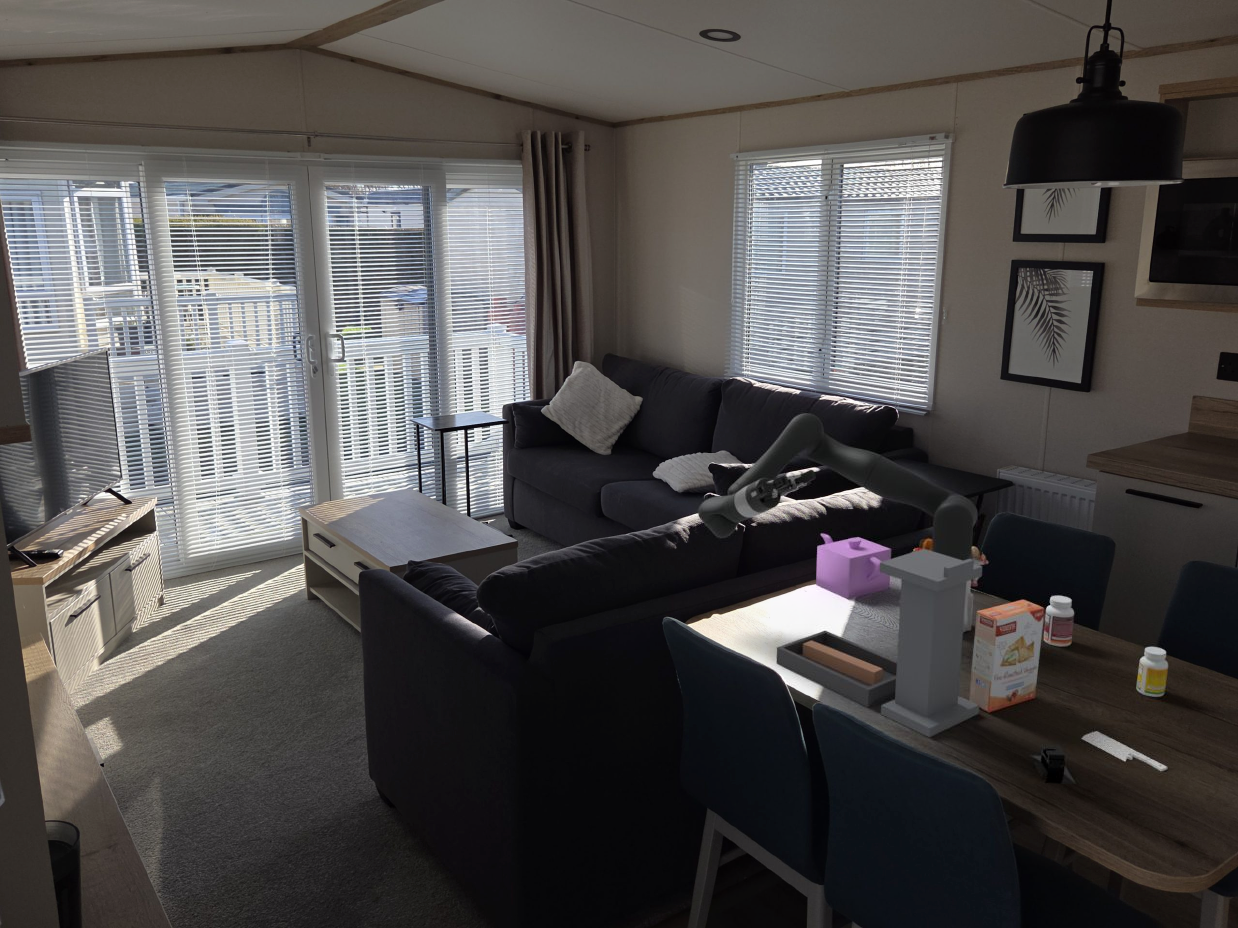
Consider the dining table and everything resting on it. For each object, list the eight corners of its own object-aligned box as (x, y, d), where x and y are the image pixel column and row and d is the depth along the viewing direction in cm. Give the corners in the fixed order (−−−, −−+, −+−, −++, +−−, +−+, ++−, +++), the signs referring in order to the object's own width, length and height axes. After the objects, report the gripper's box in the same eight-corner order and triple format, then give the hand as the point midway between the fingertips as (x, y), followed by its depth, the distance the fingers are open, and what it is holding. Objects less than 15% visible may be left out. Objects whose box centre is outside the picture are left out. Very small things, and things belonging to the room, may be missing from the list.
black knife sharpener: (1022, 754, 188) (1024, 732, 187) (1062, 755, 187) (1064, 733, 186) (1042, 789, 176) (1044, 766, 175) (1084, 791, 175) (1087, 768, 174)
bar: (802, 655, 228) (802, 643, 228) (811, 652, 230) (811, 640, 230) (873, 685, 213) (874, 672, 213) (881, 681, 215) (882, 668, 214)
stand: (869, 708, 205) (877, 554, 197) (918, 687, 214) (927, 538, 206) (929, 737, 193) (939, 574, 185) (978, 713, 202) (990, 557, 194)
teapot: (839, 568, 289) (841, 522, 286) (902, 594, 268) (904, 545, 265) (799, 577, 282) (800, 531, 279) (860, 605, 261) (862, 555, 258)
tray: (776, 663, 227) (776, 647, 226) (824, 645, 236) (825, 630, 235) (867, 707, 206) (868, 689, 205) (916, 686, 215) (917, 669, 214)
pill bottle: (1076, 643, 235) (1081, 600, 233) (1061, 649, 232) (1065, 605, 229) (1053, 634, 240) (1057, 592, 238) (1037, 640, 237) (1041, 597, 234)
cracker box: (990, 714, 202) (997, 619, 197) (967, 702, 207) (974, 609, 202) (1037, 699, 208) (1046, 606, 203) (1014, 687, 213) (1022, 597, 208)
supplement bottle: (1130, 689, 212) (1135, 648, 210) (1147, 684, 214) (1152, 643, 212) (1153, 699, 207) (1158, 657, 205) (1170, 694, 209) (1175, 652, 207)
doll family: (987, 584, 274) (990, 539, 271) (979, 595, 266) (982, 549, 263) (911, 571, 285) (914, 528, 282) (901, 581, 278) (904, 537, 275)
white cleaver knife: (1148, 777, 179) (1149, 772, 179) (1078, 741, 192) (1079, 736, 192) (1167, 770, 181) (1167, 765, 181) (1096, 734, 194) (1097, 729, 194)
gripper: (729, 488, 233) (772, 466, 220) (773, 478, 241) (816, 456, 228) (740, 518, 231) (783, 497, 218) (783, 507, 239) (827, 487, 226)
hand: (800, 476), depth 223 cm, fingers open, 8 cm apart
